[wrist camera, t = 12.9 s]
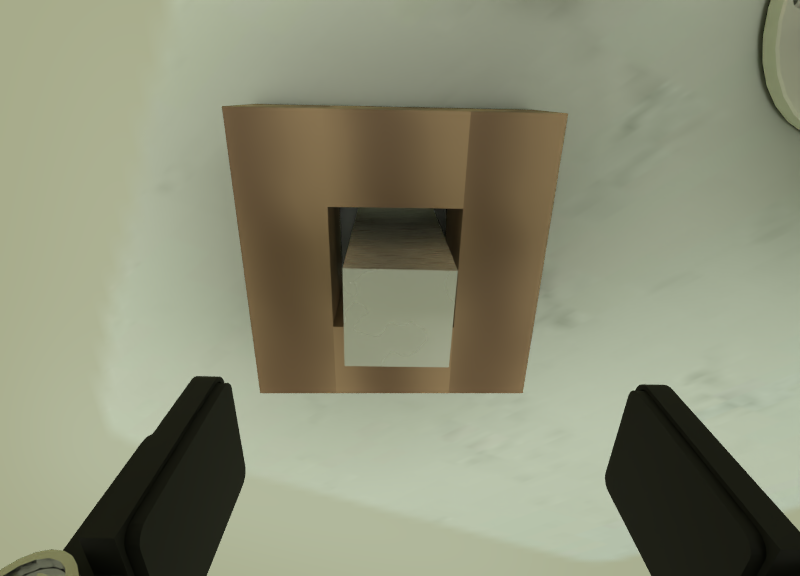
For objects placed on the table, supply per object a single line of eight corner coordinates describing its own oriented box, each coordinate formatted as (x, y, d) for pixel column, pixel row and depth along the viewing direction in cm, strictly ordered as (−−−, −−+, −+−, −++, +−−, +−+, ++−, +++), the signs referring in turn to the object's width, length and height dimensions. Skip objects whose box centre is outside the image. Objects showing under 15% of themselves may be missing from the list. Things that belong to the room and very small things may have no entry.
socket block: (531, 109, 22) (568, 113, 18) (500, 344, 28) (522, 392, 24) (256, 104, 22) (221, 106, 17) (281, 343, 28) (260, 392, 23)
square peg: (431, 204, 24) (457, 270, 15) (427, 271, 26) (448, 367, 17) (359, 202, 24) (342, 268, 15) (359, 269, 26) (344, 366, 17)
